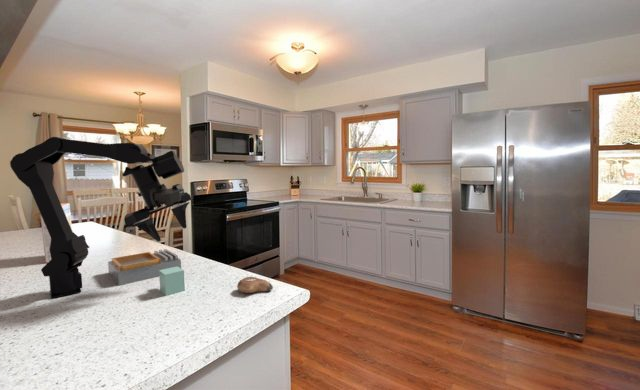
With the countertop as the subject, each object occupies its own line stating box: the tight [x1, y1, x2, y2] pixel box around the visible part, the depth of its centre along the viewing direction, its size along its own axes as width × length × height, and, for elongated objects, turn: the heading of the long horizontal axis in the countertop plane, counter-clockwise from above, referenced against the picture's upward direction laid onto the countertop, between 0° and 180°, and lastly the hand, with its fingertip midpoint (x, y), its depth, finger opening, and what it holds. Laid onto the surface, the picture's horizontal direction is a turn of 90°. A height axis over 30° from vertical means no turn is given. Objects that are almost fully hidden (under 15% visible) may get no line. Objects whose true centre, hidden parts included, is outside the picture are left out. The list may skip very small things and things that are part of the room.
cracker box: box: [39, 202, 73, 264], centre depth 121 cm, size 14×6×21 cm, turn 25°
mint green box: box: [158, 266, 186, 297], centre depth 89 cm, size 5×7×6 cm
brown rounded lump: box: [236, 276, 274, 294], centre depth 87 cm, size 9×4×8 cm
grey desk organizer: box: [107, 248, 182, 286], centre depth 104 cm, size 18×15×5 cm
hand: (172, 234), depth 92 cm, fingers open, 9 cm apart
